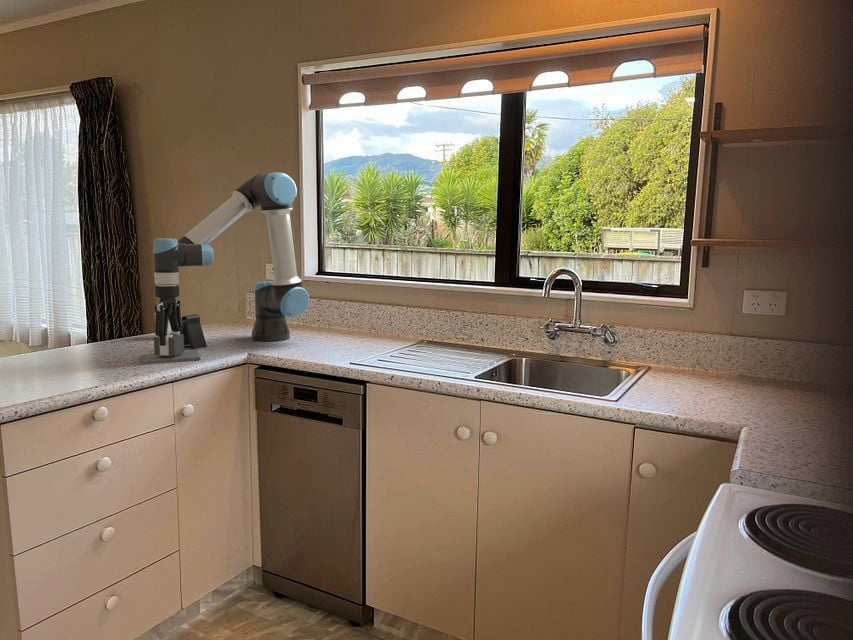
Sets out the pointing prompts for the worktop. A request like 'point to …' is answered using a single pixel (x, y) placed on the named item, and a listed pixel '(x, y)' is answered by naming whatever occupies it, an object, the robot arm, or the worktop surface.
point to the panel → (169, 357)
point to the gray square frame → (171, 345)
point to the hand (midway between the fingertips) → (169, 352)
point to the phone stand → (192, 332)
